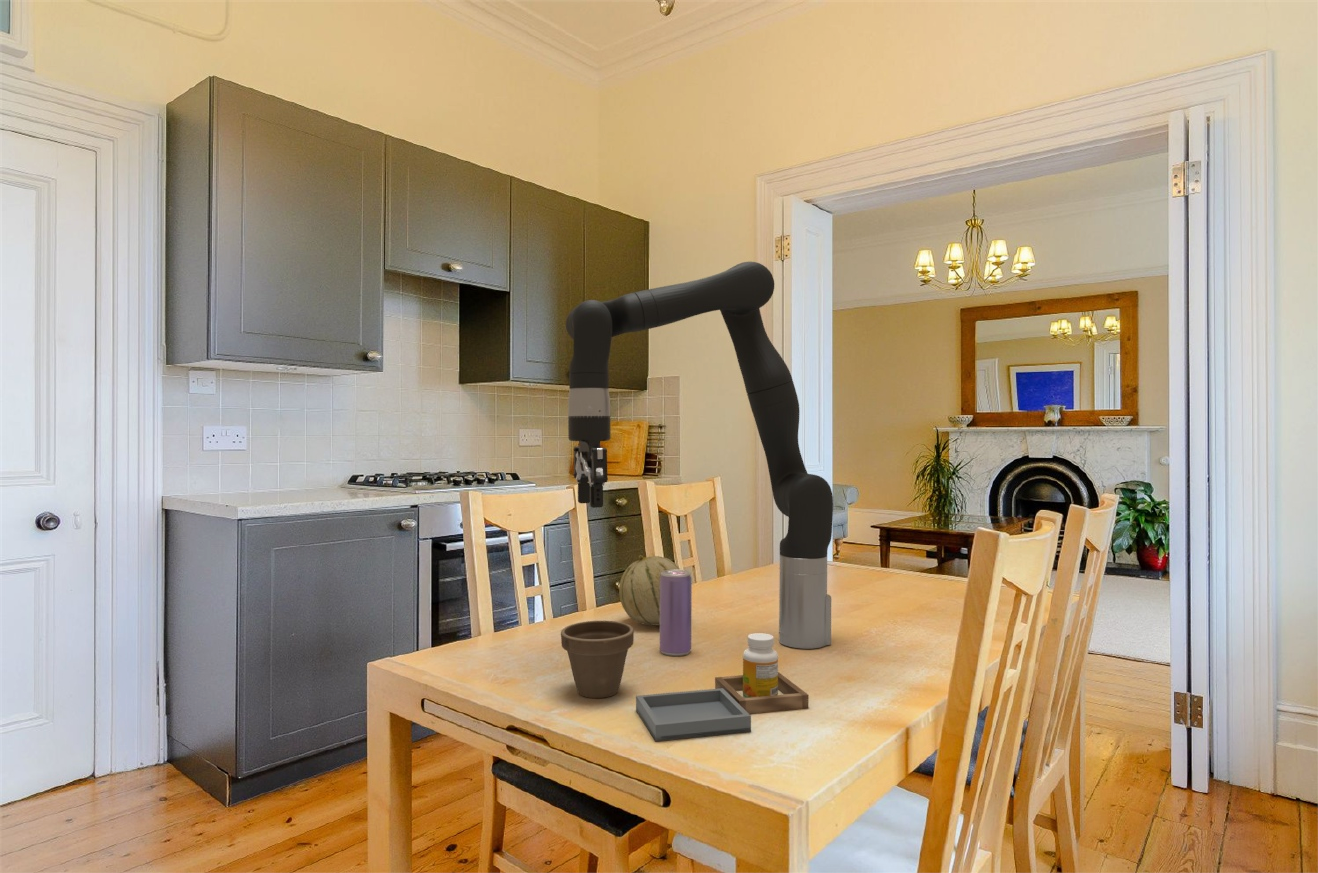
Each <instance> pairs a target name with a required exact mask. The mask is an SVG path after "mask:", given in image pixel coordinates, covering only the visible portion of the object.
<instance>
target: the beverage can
mask: <svg viewBox="0 0 1318 873" xmlns="http://www.w3.org/2000/svg"><path fill="white" fill-rule="evenodd" d="M692 582H693V581H692V575H691V571H689V570H684V569H680V570H665V571H662V572H661V576H660V625H659V651H660V652H661V653H662V654H663V655H665V656H669V657H683V656H686V655H688V654H690V652H691V650H692V610H693V609H692V605H693V604H692V599H693V598H692V593H693V592H692V589H693V587H692V584H693V583H692Z"/></svg>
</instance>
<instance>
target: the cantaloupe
mask: <svg viewBox="0 0 1318 873" xmlns="http://www.w3.org/2000/svg"><path fill="white" fill-rule="evenodd" d="M665 570H681V568H680V567H679V566H678V565H677V564H676V563H675V562H673V561H672V560H671V559H669V558H667V557H663V556H659V555H653V556H652V555H651V556H647V557H645V556H643V555H642V554H640V555H638V560H636V561H633V562H632V563H630V565H629V566H627V567H626V569H625V570H624V572H623V574H622V576H621V578H620V582H619V587H618V588H619V589H618V591H619V592H618V593H619V600H620V603H621V606H622V608H623V610H624V612H625V613H626V614H627V616H628V617H629V618H630V619H631V620H633V621H634V622H637V623H638V624H642V625H646V626H660V576H661V572H662V571H665Z"/></svg>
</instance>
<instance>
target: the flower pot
mask: <svg viewBox="0 0 1318 873" xmlns="http://www.w3.org/2000/svg"><path fill="white" fill-rule="evenodd" d="M634 632H635V631H634V628H633V626H631V625H630V624H627V623H625V622H622V621H615V620H587V621H581V622H576V623H572V624H570V625H567V626H565V627H564V628H562V629H561V630H560V640H561V647H562V649H563V650H564V651H566V653H567V656H568V659H569V664H570V669H571V672H572V677H573V680H574V681H573V682H574V683H575V687H576V690H577V693H578V694H579V695H581V696H583V697H585V698H589V699H605V698H609V697H612V696H615V695H616V694H617V693H618V692H619V690H620V686H621V682H622V679H623V674H624V669H625V665H626V659H627V654H628V652H629V649H630V648H632V647H633V645H634V639H635V638H634V634H635V633H634Z"/></svg>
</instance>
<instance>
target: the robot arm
mask: <svg viewBox="0 0 1318 873" xmlns="http://www.w3.org/2000/svg"><path fill="white" fill-rule="evenodd" d="M774 291H775V279H774V276H773V274H772V272H771V271H770V269H768V267H766V266H765V265H764V264H762V263H760V262H755V261H744V262H741V263H738V264H736V265H733V266H732V267H730V268H728V269H727V270H724V271H722V272H719V273H717V274H714V275H710V276H706V277H703V278H700V279H696V280H691V281H687V282H682V283H676V284H671V285H665V286H659V287H655V288H653V287H652V288H649V289H644V290H639V291H635V292H634V291H633V292H630V293H627V294H623V295H621V296H619V297H617V298H614V299H611V300H610V299H609V300H606V301H599V300H596V299H588V300H585V301H582V302H581V303H579V304H578V305H576V306H575V307H574V308H573V309H571V310H570V312H569V313H568V315H567V317H566V320H565V329H566V332H567V334H568V335H569V337H570V338H571V339H572V340H573V354H572V357H571V360H570V362H569V368H568V369H569V378H568V380H569V392H568V402H567V403H568V404H567V408H568V409H567V410H568V412H567V415H568V418H567V419H568V423H567V424H568V425H567V426H568V427H567V429H568V430H567V431H568V432H567V433H568V437H567V438H568V440H569V441H570V442H578V446H574V447H573V478H574V479H575V481H576V483H577V502H578V503H579V504H589V506H590V507H591V508H593V509H594V508H597V509H598V508H602V507H603V506H604V485H605V484H606V483H608V480H609V478H608V449H607V447H601V446H602V445H601V442H608V441H610V440H611V437H612V436H611V435H612V434H611V432H612V431H611V428H612V427H611V398H610V389H609V388H610V385H609V384H610V381H609V380H610V379H609V378H610V377H609V376H610V373H609V371H610V370H609V358H610V352H611V346H612V338H614V337H617V336H621V335H622V334H629V333H636V332H641V331H645V330H651V329H654V328H658V327H659V328H660V327H663V326H666V325H670V324H674V323H677V322H679V321H684V320H687V319H689V318H693V317H695V316H698V315H702V314H706V313H710V312H716V311H720V314H721V316H722V318H723V321H724V323H725V325H726V328H727V331H728V333H729V337H730V338H731V342H732V344H733V348H734V351H735V355H736V360H737V363H738V366H739V370H740V373H741V375H742V376H741V378H742V380H743V384H744V387H745V391H746V392H745V393H746V395H747V399H748V401H749V405H750V406H749V407H750V409H751V412H752V414H753V418H754V419H753V420H754V422H755V425H756V428H757V431H758V432H757V433H758V435H759V439H760V442H761V444H762V449H763V451H764V454H765V458H766V462H767V468H768V474H769V478H770V479H769V480H770V486H771V491H772V497H773V500H774V503H775V506H776V507H777V509H778V510H779V512H781V514H783V515H784V516H785V517H788V520H787V521H788V523H787V524H788V525H787V533H786V535H785V537H783V538H782V539H781V540H780V541H779V586H778V587H779V591H778V592H779V597H778V598H779V600H778V601H779V605H778V606H779V608H778V610H779V614H778V615H779V617H778V621H779V622H778V623H779V624H778V641H779V643H780V644H782V646H786V647H790V648H794V649H795V648H796V649H811V650H812V649H820V648H823V647H826V646H830V645H832V596H831V595H830V594H828V551H829V550H828V549H829V546H830V543H831V541H832V536H833V534H832V533H833V519H834V518H833V517H834V516H833V515H834V496H833V491H832V489H831V486H830V484H829V483H828V481H827V480H826V479H825V478H823V477H822V476H820V475H817V474H813V473H808V471H807V469H806V466H805V463H804V460H803V457H802V454H801V450H800V444H799V429H800V428H799V427H800V403H799V397H798V394H797V390H796V387H795V383H794V380H793V377H792V374H791V371H790V369H789V367H788V365H787V364H786V362H785V361H784V359H783V357H782V356H781V354H780V353H779V352H778V350H777V348H776V347H775V346H774V345H773V343H772V341H771V340H770V338H769V336H768V334H767V331H766V328H765V325H764V322H763V319H762V318H763V317H762V314H761V308H762V307H764V306H765V305H766V304H767V303H768V302H769V301H770V299H771V298H772V297H773V294H774Z"/></svg>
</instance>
